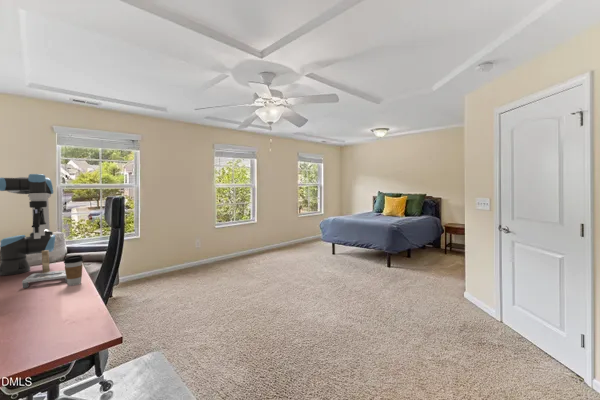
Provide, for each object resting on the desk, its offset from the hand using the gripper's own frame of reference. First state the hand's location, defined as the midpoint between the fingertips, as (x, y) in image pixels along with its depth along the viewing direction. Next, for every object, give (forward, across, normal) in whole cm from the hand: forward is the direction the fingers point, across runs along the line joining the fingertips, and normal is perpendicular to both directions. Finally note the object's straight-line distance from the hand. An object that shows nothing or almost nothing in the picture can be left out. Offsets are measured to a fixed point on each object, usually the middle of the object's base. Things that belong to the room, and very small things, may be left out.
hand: (39, 237), depth 171 cm
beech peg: (+25, -3, +2) cm, 25 cm away
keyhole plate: (+24, +11, +6) cm, 27 cm away
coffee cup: (+24, +26, +17) cm, 40 cm away
